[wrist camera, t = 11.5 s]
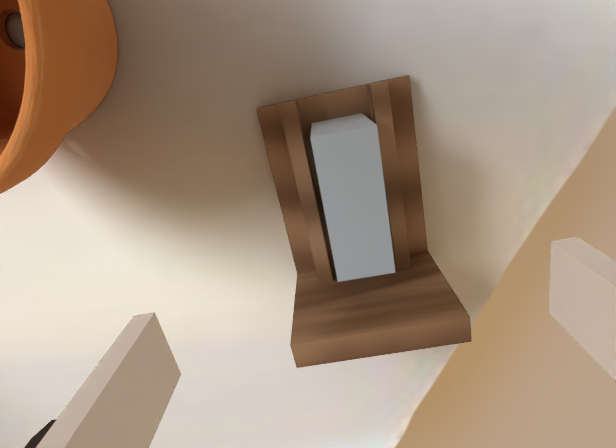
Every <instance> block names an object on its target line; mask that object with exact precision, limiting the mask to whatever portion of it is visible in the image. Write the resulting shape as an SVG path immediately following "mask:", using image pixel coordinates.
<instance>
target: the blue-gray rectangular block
mask: <svg viewBox="0 0 616 448" xmlns="http://www.w3.org/2000/svg"><path fill="white" fill-rule="evenodd" d="M310 139H311V144H312V150H313V155H314V160H315V165H316V171H317V176H318V181H319V186H320V192H321V197H322V202H323V207H324V213H325V218H326V223H327V228H328V233H329V239H330V244H331V249H332V254H333V260H334V265H335V270H336V275H337V281H338V282H340V281H346V280H352V279H359V278H365V277H371V276H377V275H384V274H390V273H396V272H395V264H394V256H393V248H392V240H391V232H390V224H389V217H388V209H387V201H386V193H385V185H384V177H383V169H382V161H381V153H380V146H379V138H378V130H377V125H376V124H375V123H374V122H372V121H371V120H370V119H369V118H367V117H366V116H365V115H363V114H362V113H360V114H355V115H350V116H345V117H340V118H335V119H330V120H325V121H320V122H315V123H312V126H311V136H310Z"/></svg>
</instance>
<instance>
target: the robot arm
mask: <svg viewBox="0 0 616 448" xmlns="http://www.w3.org/2000/svg"><path fill="white" fill-rule="evenodd" d="M549 302H550V303H549V314H550V315H551V316H552V317H553V318H554V319H555V320H556V321H557V322H558V324H559V325H560V326H562V327H563V329H564V330H565V331H566V332H567V333H568V334H569V335H570V336H571V337H572V338H573V339H574V340H575V341H576V342H577V343H578V344H579V345H580V346H581V347H582V348H583V349H584V350H585V351H586V352H587V353H588V354H589V355H590V356H591V357H592V358H593V359H594V360H595V361H596V362H597V363H598V364H599V365H600V366H601V367H602V368H603V369H604V370H605V371H606V372H607V373H608V374H609V375H610V376H611V377H612V378H613V379H614V380H615V381H616V260H614V259H612V258H611V257H609V256H607V255H606V254H604V253H603V252H601V251H599V250H598V249H596V248H594V247H593V246H591V245H589V244H588V243H586V242H585V241H583V240H581V239H580V238H578V237H572V238H566V239H561V240H555V241H551V262H550V301H549ZM180 376H181V373H180V370H179V368H178V366H177V363H176V361H175V359H174V356H173V354H172V352H171V349H170V347H169V345H168V342H167V340H166V338H165V335H164V333H163V331H162V329H161V326H160V324H159V322H158V319H157V317H156V315H155V312H154V313H149V314H143V315H137V316H133V318H132V319H131V320H130V322H129V323H128V324H127V326H126V327H125V328H124V330H123V331H122V332H121V334H120V335H119V336H118V338H117V339H116V341H115V342H114V343H113V345H112V346H111V347H110V349H109V350H108V351H107V353H106V354H105V355H104V357H103V358H102V359H101V361H100V362H99V363H98V365H97V366H96V367H95V369H94V370H93V371H92V373H91V374H90V375H89V377H88V378H87V380H86V381H85V382H84V384H83V385H82V386H81V388H80V389H79V390H78V392H77V393H76V394H75V396H74V397H73V398H72V400H71V401H70V402H69V404H68V405H67V406H66V408H65V409H64V410H63V412H62V413H61V414H60V416H59V417H58V418H57V419H56V420H51V421H50V422H49V423H48V424H47V425H46V426H45V427H44V428H43V429H41V430H40V431H39V432H38V433H37V434H36V435H35V436H34V437H33V438H32V439H31V440H30V441H29V442H28V444H27V445H26V446H25V448H149V446H150V444H151V441H152V439H153V437H154V435H155V432H156V430H157V428H158V425H159V423H160V421H161V419H162V416H163V414H164V412H165V410H166V407H167V405H168V403H169V400H170V398H171V396H172V394H173V391H174V389H175V387H176V385H177V382H178V380H179V378H180Z"/></svg>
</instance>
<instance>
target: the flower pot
mask: <svg viewBox="0 0 616 448" xmlns="http://www.w3.org/2000/svg"><path fill="white" fill-rule="evenodd" d="M11 13H20V14H21V19H22V24H23V31H24V39H25V48H24V49H22V48H18V47H17V46H15V45H14V44H13V43H12V42H11V41H10V39H9V38H8V36H7V34H6V31H5V20H6V18H7V17H8V15H10V14H11ZM117 59H118V41H117V33H116V27H115V23H114V19H113V15H112V12H111V9H110V6H109V4H108V1H107V0H0V194H1V193H3V192H5V191H7V190H8V189H10V188H12V187H13V186H15V185H17V184H19V183H20V182H22V181H24V180H25V179H27V178H28V177H30V176H31V175H32V174H34V173H35V172H36V171H37V170H38V169H40V168H41V167H42V166H43V165H44V164H45V163H46V162H47V161H48V159H49V158H50V157H51V156H52V155H53V153H54V152H55V151H56V150H57V148H58V147H59V145H60V144H61V142H62V141H63V139H64V137H65V135H66V133H68V132H69V131H71V130H72V129H73V128H75V127H76V126H78V125H79V124H80V123H81V122H83V121H84V120H85V119H86V118H87V117H88V116H89V115H90V114H91V113H92V112H93V111H94V110H95V109H96V108H97V107H98V106H99V104H100V103H101V102H102V101H103V99H104V98H105V96H106V94H107V93H108V91H109V89H110V87H111V84H112V81H113V79H114V76H115V71H116V66H117Z"/></svg>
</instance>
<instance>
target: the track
mask: <svg viewBox="0 0 616 448" xmlns="http://www.w3.org/2000/svg"><path fill="white" fill-rule="evenodd" d="M257 113H258V117H259V121H260V125H261V129H262V133H263V137H264V141H265V145H266V149H267V153H268V157H269V161H270V165H271V169H272V173H273V177H274V181H275V185H276V189H277V193H278V197H279V201H280V205H281V210H282V214H283V218H284V222H285V226H286V230H287V234H288V238H289V242H290V246H291V250H292V254H293V258H294V262H295V266H296V270H297V283H296V293H295V303H294V314H293V324H292V334H291V344H290V345H291V349H292V352H293V356H294V360H295V363H296V367H297V368H299V367H306V366H312V365H319V364H325V363H332V362H339V361H345V360H352V359H358V358H365V357H372V356H378V355H385V354H391V353H398V352H405V351H411V350H418V349H424V348H431V347H438V346H444V345H451V344H457V343H464V342H471V326H470V316H469V315H468V313H467V311H466V310H465V308H464V307H463V305H462V304H461V302H460V301H459V299H458V297H457V296H456V294H455V293H454V291H453V290H452V288H451V287H450V285H449V283H448V282H447V280H446V279H445V277H444V276H443V274H442V273H441V271H440V269H439V268H438V266H437V265H436V263H435V262H434V260H433V259H432V257H431V255H430V254H429V252H428V250H427V241H426V231H425V222H424V212H423V203H422V193H421V184H420V175H419V165H418V156H417V146H416V137H415V127H414V118H413V108H412V99H411V89H410V80H409V75H406V76H401V77H397V78H392V79H388V80H383V81H379V82H374V83H369V84H365V85H360V86H356V87H351V88H347V89H342V90H338V91H333V92H329V93H324V94H320V95H315V96H311V97H306V98H301V99H297V100H292V101H288V102H283V103H279V104H274V105H270V106H265V107H261V108H257ZM360 113H362V114H363V115H365V116H366V117H367V118H369V119H370V120H371V121H372V122H374V123H375V124H376V125H377V130H378V138H379V146H380V153H381V161H382V169H383V177H384V185H385V193H386V201H387V209H388V217H389V224H390V232H391V240H392V248H393V256H394V264H395V272H396V273H390V274H384V275H377V276H371V277H365V278H359V279H352V280H346V281H340V282H338V281H337V275H336V270H335V265H334V260H333V254H332V249H331V244H330V239H329V233H328V228H327V223H326V218H325V213H324V207H323V202H322V197H321V192H320V186H319V181H318V176H317V171H316V165H315V160H314V155H313V150H312V144H311V139H310V136H311V126H312V123H315V122H320V121H325V120H330V119H335V118H340V117H345V116H350V115H355V114H360Z"/></svg>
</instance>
